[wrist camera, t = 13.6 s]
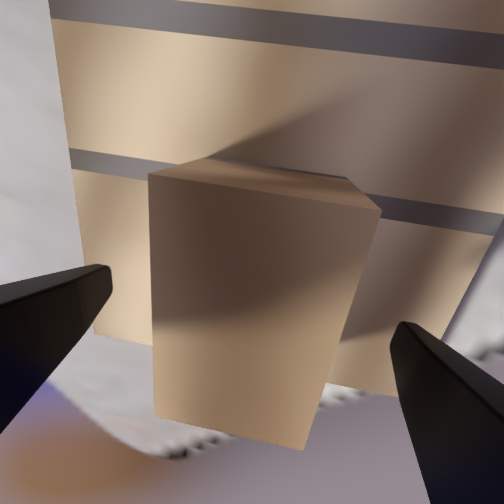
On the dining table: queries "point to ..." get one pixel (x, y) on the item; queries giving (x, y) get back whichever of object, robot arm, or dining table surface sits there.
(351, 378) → the board
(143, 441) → the dining table surface
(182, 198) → the block
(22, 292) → the robot arm
